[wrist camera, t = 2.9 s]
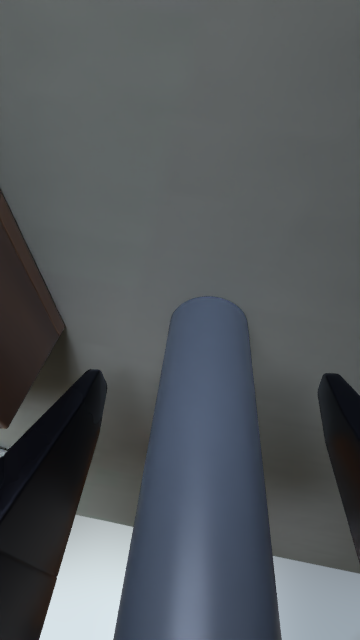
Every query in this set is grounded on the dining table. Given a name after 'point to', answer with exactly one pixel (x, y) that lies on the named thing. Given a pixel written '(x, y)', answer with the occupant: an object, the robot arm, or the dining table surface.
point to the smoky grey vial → (202, 493)
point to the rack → (21, 318)
